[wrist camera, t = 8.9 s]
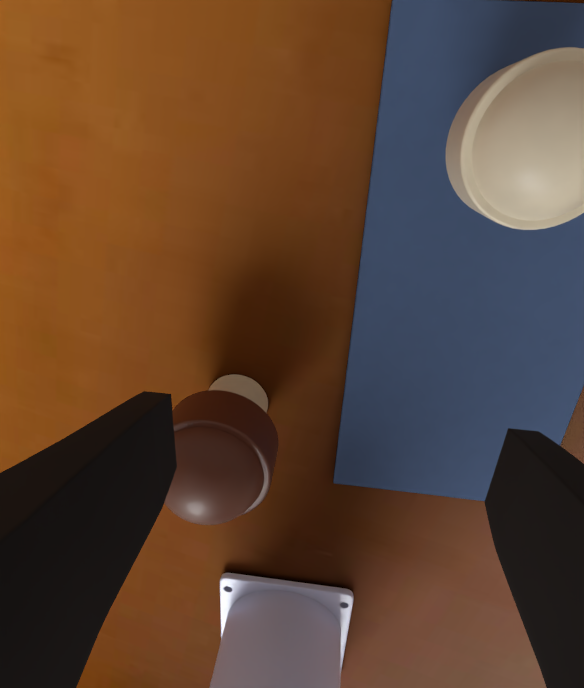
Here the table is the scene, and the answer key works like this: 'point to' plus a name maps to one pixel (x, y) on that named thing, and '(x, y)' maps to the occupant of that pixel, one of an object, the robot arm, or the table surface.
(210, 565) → the table surface
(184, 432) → the brown mushroom
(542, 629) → the robot arm
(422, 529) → the table surface
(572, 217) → the cream mushroom
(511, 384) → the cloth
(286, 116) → the table surface
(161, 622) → the table surface
